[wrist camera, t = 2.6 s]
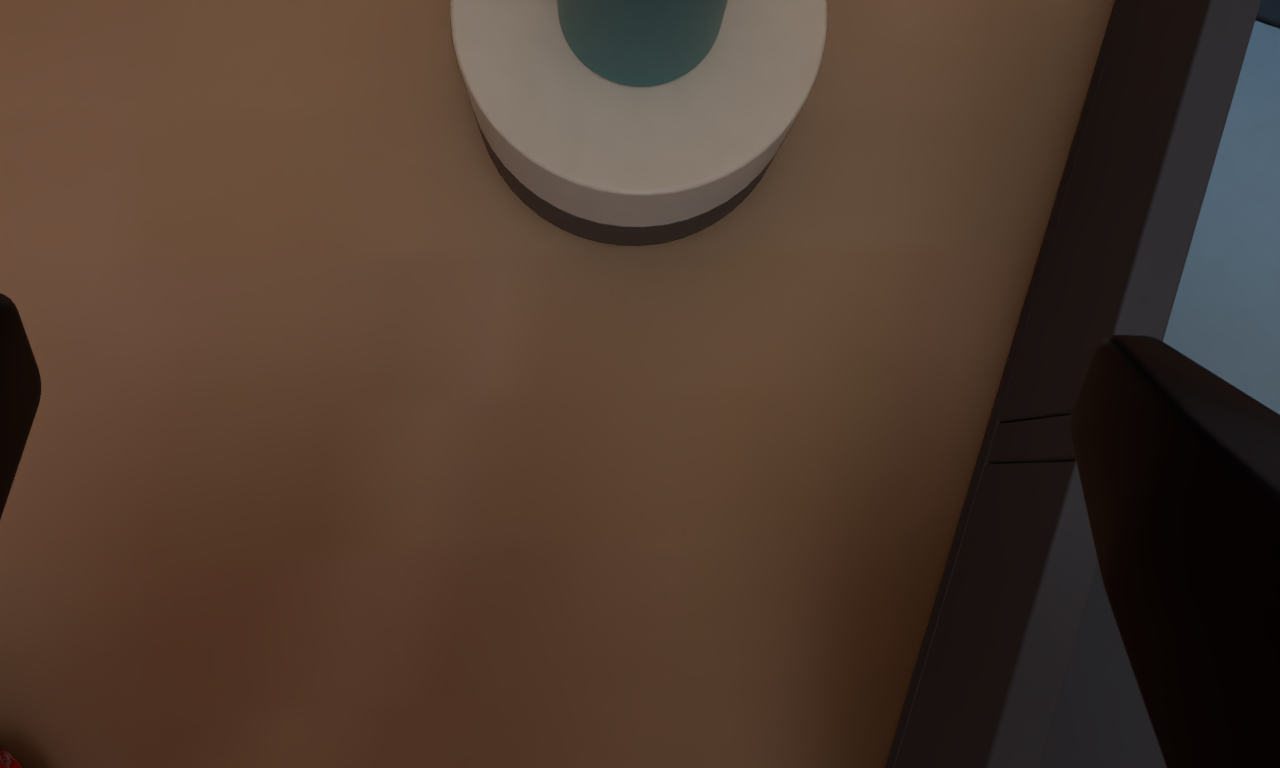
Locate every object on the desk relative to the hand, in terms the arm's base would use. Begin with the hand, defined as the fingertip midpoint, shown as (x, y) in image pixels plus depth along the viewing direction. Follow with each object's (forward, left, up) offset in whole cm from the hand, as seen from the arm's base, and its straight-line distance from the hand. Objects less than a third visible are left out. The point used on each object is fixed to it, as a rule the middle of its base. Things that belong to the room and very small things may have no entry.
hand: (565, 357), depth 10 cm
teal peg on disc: (+5, -4, -12) cm, 13 cm away
